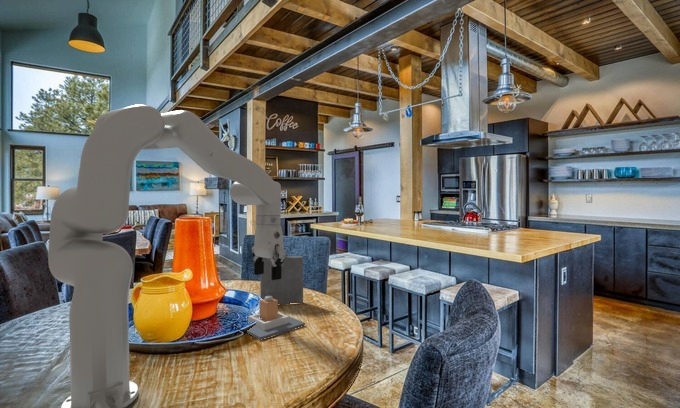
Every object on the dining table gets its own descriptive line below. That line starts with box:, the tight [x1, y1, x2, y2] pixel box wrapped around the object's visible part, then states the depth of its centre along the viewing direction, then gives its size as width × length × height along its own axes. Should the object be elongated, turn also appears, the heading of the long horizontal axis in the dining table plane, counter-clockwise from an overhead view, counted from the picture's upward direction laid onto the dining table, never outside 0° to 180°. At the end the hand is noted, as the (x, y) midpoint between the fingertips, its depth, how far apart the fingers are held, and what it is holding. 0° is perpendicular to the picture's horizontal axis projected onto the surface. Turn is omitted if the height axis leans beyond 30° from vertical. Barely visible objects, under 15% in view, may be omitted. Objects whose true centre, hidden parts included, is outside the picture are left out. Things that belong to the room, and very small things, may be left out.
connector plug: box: [258, 296, 279, 322], centre depth 110 cm, size 4×4×8 cm
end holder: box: [246, 311, 306, 341], centre depth 110 cm, size 16×16×3 cm
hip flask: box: [259, 249, 304, 304], centre depth 132 cm, size 16×4×20 cm, turn 92°
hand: (267, 276), depth 109 cm, fingers open, 9 cm apart
